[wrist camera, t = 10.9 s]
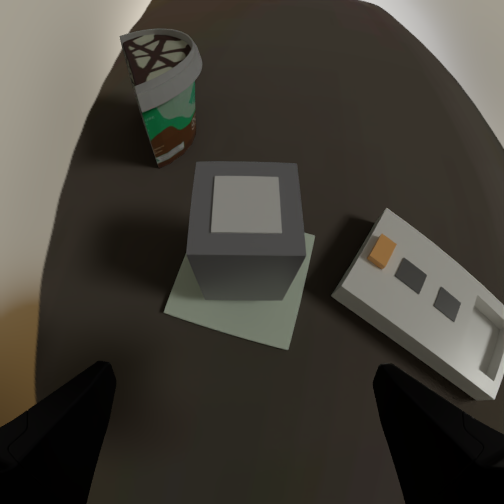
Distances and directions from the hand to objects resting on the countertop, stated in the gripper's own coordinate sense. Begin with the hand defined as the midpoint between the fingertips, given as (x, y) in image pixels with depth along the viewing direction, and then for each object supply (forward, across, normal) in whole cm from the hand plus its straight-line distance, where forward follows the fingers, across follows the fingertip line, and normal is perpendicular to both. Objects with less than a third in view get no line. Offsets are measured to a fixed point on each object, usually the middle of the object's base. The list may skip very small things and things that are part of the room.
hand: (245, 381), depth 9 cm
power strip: (+10, -16, +5) cm, 20 cm away
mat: (+13, 0, +2) cm, 13 cm away
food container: (+24, +7, -8) cm, 27 cm away
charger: (+13, 0, +2) cm, 13 cm away
